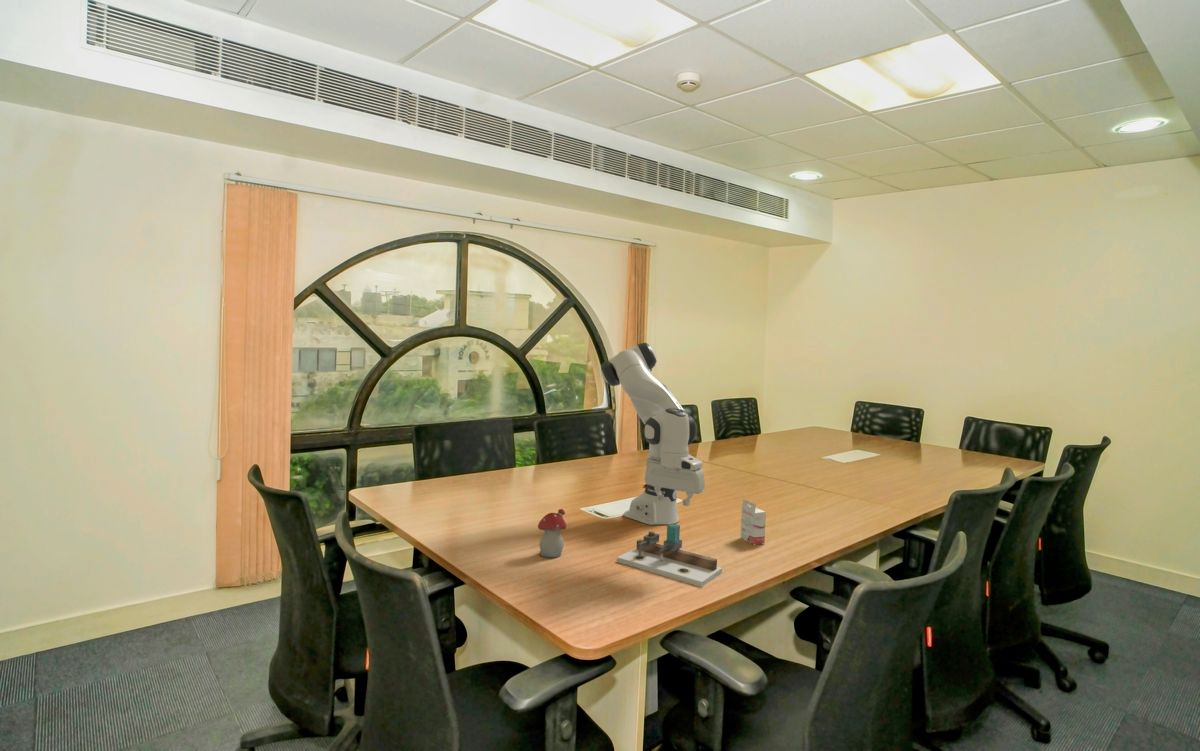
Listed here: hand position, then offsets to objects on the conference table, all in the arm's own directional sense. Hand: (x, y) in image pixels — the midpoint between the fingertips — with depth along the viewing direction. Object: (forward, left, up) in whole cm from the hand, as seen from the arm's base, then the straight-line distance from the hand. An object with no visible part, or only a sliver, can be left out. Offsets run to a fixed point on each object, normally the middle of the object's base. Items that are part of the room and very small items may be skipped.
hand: (673, 502), depth 190 cm
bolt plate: (+1, -4, -20) cm, 20 cm away
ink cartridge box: (+12, +38, -20) cm, 45 cm away
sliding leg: (0, -2, -17) cm, 17 cm away
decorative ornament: (-34, -20, -20) cm, 44 cm away
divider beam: (+1, -2, -18) cm, 18 cm away
